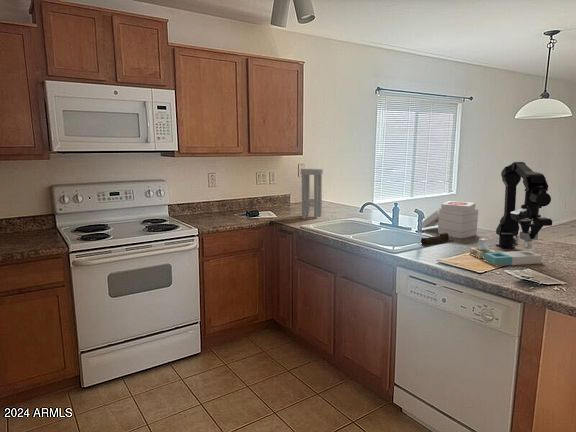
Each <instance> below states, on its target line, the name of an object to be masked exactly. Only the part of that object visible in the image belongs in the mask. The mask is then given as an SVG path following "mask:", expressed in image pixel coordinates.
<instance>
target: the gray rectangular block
mask: <svg viewBox="0 0 576 432" xmlns="http://www.w3.org/2000/svg"><path fill="white" fill-rule="evenodd" d="M538 238H539V232H538V233H537V235H536V236H535V238H534V239H531V230H529V231H522V230H521V231H520V232H519V239H521V240H523V248H524V249H526V250H527V249H529V250H530V249H532V247H533V246H532V245H533V241H537V240H538Z"/></svg>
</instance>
